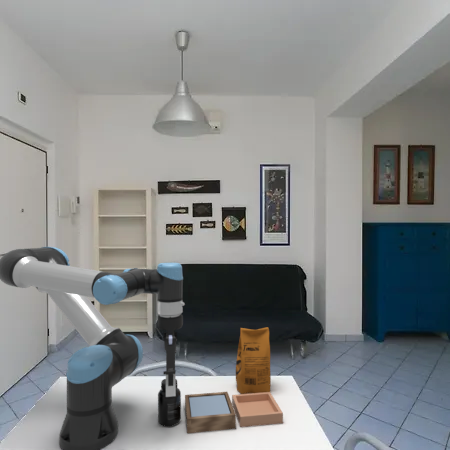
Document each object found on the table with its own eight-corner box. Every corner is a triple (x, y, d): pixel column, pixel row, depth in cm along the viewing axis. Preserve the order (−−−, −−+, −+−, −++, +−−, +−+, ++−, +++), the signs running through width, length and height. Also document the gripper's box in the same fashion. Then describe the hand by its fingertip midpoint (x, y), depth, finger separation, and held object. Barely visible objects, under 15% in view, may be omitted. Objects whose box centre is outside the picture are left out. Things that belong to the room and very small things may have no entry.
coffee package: (234, 382, 127) (235, 324, 127) (267, 381, 127) (267, 323, 127) (237, 395, 117) (237, 332, 117) (272, 394, 117) (272, 331, 117)
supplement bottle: (183, 415, 104) (183, 376, 104) (177, 428, 97) (178, 387, 97) (161, 414, 105) (161, 375, 105) (154, 427, 98) (155, 385, 98)
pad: (191, 420, 97) (191, 417, 97) (189, 400, 108) (189, 397, 108) (230, 417, 98) (230, 413, 98) (224, 397, 110) (224, 394, 110)
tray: (240, 427, 98) (240, 416, 98) (232, 404, 111) (232, 395, 111) (282, 423, 100) (282, 413, 100) (269, 400, 113) (270, 392, 113)
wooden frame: (187, 433, 95) (187, 419, 95) (184, 407, 109) (184, 394, 109) (235, 428, 97) (235, 414, 97) (227, 403, 111) (227, 391, 111)
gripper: (184, 325, 90) (185, 405, 89) (181, 304, 114) (181, 367, 114) (156, 326, 88) (156, 407, 88) (158, 305, 113) (159, 368, 113)
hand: (170, 384), depth 101 cm, fingers open, 13 cm apart
